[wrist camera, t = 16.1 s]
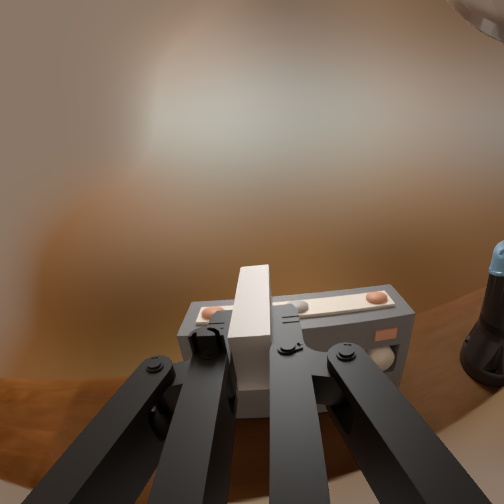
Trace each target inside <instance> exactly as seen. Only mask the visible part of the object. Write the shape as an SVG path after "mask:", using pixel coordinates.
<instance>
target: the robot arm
mask: <svg viewBox="0 0 504 504" xmlns="http://www.w3.org/2000/svg"><path fill="white" fill-rule="evenodd" d="M446 1H447V2H448V3H449V5H450V6H451V7H452V8H453V9H454V10H455V11H456V12H457V13H458V14H460V16H462V17H463V18H464V19H465V20H467V21H468V22H469V23H470V24H471V25H473V26H474V27H475V28H477V29H478V30H480V31H481V32H483V33H485V34H486V35H488V36H489V37H491V38H493V39H495V40H497V41H499V42H501V43H503V44H504V0H446ZM187 337H188V340H189V344H190V347H191V351H192V357H191V359H189V360H186V361H183V362H178V363H174V364H173V363H172V361H171V360H170V359H169V357H166V356H153V357H150V358H148V359H146V360H145V361H143V362H142V363H141V364H140V365H139V366H138V368H137V369H136V370H135V371H134V372H133V373H132V374H131V376H130V377H129V378H128V379H127V380H126V381H125V382H124V384H123V385H122V386H121V387H120V388H119V389H118V391H117V392H116V393H115V394H114V395H113V396H112V397H111V399H110V400H109V401H108V402H107V403H106V404H105V406H104V407H103V408H102V409H101V410H100V411H99V413H98V414H97V415H96V416H95V417H94V418H93V419H92V421H91V422H90V423H89V424H88V425H87V426H86V428H85V429H84V430H83V431H82V432H81V433H80V435H79V436H78V437H77V438H76V439H75V440H74V442H73V443H72V444H71V445H70V446H69V448H68V449H67V450H66V451H65V452H64V453H63V455H62V456H61V457H60V458H59V459H58V460H57V462H56V463H55V464H54V465H53V466H52V468H51V469H50V470H49V471H48V472H47V473H46V475H45V476H44V477H43V478H42V479H41V481H40V482H39V483H38V484H37V485H36V487H35V488H34V489H33V490H32V491H31V493H30V494H29V495H28V496H27V497H26V499H25V500H24V501H23V502H22V503H21V504H134V503H135V501H136V500H137V498H138V497H139V495H140V493H141V492H142V490H143V489H144V487H145V486H146V484H147V482H148V481H149V479H150V478H151V476H152V474H153V473H154V471H155V469H156V468H157V471H156V474H155V478H154V481H153V485H152V488H151V492H150V495H149V499H148V502H147V504H227V500H228V490H229V481H230V471H231V461H232V452H233V442H234V432H235V423H236V413H237V403H238V399H237V394H236V386H238V391H245V390H264V389H270V485H269V504H330V498H329V489H328V481H327V473H326V466H325V459H324V452H323V445H322V438H321V431H320V425H319V418H318V412H317V406H316V404H322V405H325V406H326V409H327V411H328V413H329V414H330V416H331V418H332V420H333V422H334V423H335V425H336V427H337V429H338V430H339V432H340V434H341V436H342V438H343V439H344V441H345V443H346V445H347V447H348V448H349V450H350V452H351V454H352V455H353V457H354V459H355V461H356V462H357V464H358V466H359V468H360V470H361V471H362V473H363V475H364V477H365V478H366V480H367V482H368V484H369V485H370V487H371V489H372V491H373V492H374V494H375V496H376V498H377V499H378V501H379V503H380V504H492V503H491V502H490V501H489V499H488V498H487V497H486V495H484V493H483V492H482V490H481V489H480V488H479V487H478V485H477V484H476V483H475V482H474V480H473V479H472V478H471V477H470V475H469V474H468V473H467V472H466V470H465V469H464V468H463V467H462V466H461V464H460V463H459V462H458V461H457V459H456V458H455V457H454V456H453V455H452V453H451V452H450V451H449V450H448V448H447V447H446V446H445V445H444V443H443V442H442V441H441V440H440V439H439V437H438V436H437V435H436V434H435V433H434V431H433V430H432V429H431V428H430V427H429V425H428V424H427V423H426V422H425V421H424V419H423V418H422V417H421V416H420V415H419V413H418V412H417V411H416V410H415V409H414V408H413V406H412V405H411V404H410V403H409V402H408V400H407V399H406V398H405V397H404V396H403V395H402V393H401V392H400V391H399V390H398V389H397V388H396V386H395V385H394V384H393V383H392V382H391V381H390V379H389V378H388V377H387V376H386V375H385V374H384V372H383V371H382V370H381V369H380V368H379V367H378V365H377V364H376V363H375V362H374V361H373V360H372V358H371V357H370V356H369V355H368V354H367V353H366V352H365V350H364V349H363V348H362V347H360V346H359V345H357V344H354V343H347V342H344V343H338V344H336V345H334V346H332V347H331V348H330V349H329V350H328V352H320V351H315V350H312V349H310V348H309V347H307V346H306V345H305V343H304V340H303V335H302V329H301V324H300V319H299V313H298V309H297V308H296V307H295V306H294V305H293V304H284V305H274V306H273V304H272V295H271V285H270V275H269V266H268V265H258V266H248V267H241V270H240V275H239V281H238V285H237V291H236V296H235V301H234V306H233V310H221V311H216V312H215V313H214V314H213V315H212V316H211V317H210V320H209V325H208V326H203V327H199V328H197V329H195V330H193V331H192V332H190V334H189V335H188V336H187ZM460 361H461V364H462V366H463V368H464V369H465V371H466V372H467V373H468V374H469V375H470V376H471V377H472V378H474V379H475V380H477V381H479V382H481V383H483V384H486V385H490V386H504V240H503V241H501V242H500V243H498V244H497V246H496V247H495V249H494V252H493V256H492V261H491V265H490V267H489V278H488V283H487V288H486V292H485V297H484V301H483V305H482V309H481V313H480V316H479V319H478V321H477V322H476V324H475V325H474V327H473V329H472V330H471V332H470V333H469V335H468V336H467V337H466V339H465V341H464V343H463V346H462V349H461V352H460ZM157 466H158V467H157Z"/></svg>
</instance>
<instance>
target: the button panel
mask: <svg viewBox="0 0 504 504" xmlns="http://www.w3.org/2000/svg"><path fill="white" fill-rule="evenodd" d="M234 301H235V300H219V301H203V302H192V303H191V305H190V307H189V310H188V312H187V314H186V316H185V318H184V321H183V323H182V325H181V328H180V330H179V332H178V334H177V339H178V342H179V346H180V349H181V353H182V356H183V360H184V361H186V360H189V359H191V357H192V351H191V347H190V344H189V340H188V337H187V336H188V335H189V334H190V332H192V331H193V330H195V329H197V328H199V327H203V326H208V325H209V320H210V317H211V316H212V315H213V314H214V313H215V312H216V311H221V310H233V306H234ZM272 304H273V306H274V305H284V304H293V305H294V306H295V307H296V308H297V309H298V313H299V319H300V324H301V329H302V335H303V340H304V343H305V345H306V346H307V347H309V348H310V349H312V350H315V351H320V352H328V350H329V349H330V348H331V347H332V346H334V345H336V344H338V343H344V342H347V343H354V344H357V345H359V346H360V347H362V348H363V349H364V350H365V352H366V350H368V349H374V348H380V347H385V346H390V348H391V350H392V352H393V353H394V357H395V358H394V362H393V363H392V365H391V366H390V367H389V368H388V369H386V370H384V371H383V372H384V374H385V375H386V376H387V377H388V378H389V379H390V381H391V382H392V383H393V384H394V385H395V386H396V388H397V389H398V388H399V384H400V380H401V377H402V373H403V369H404V365H405V361H406V357H407V352H408V348H409V343H410V338H411V333H412V328H413V323H414V317H415V313H414V311H413V310H412V309H411V308H410V306H409V305H408V304H407V303H406V302H405V301H404V299H403V298H402V297H401V296H400V295H399V294H398V292H397V291H396V290H395V289H394V288H393V287H392V286H391V284H388V285H380V286H372V287H364V288H355V289H347V290H337V291H328V292H319V293H308V294H297V295H286V296H275V297H272ZM236 394H237V399H238V403H237V413H236V419H238V418H266V417H270V389H264V390H245V391H238V386H236ZM316 406H317V412H318V413H321V412H328V411H327V409H326V406H325V405H322V404H316Z"/></svg>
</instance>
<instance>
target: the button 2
mask: <svg viewBox="0 0 504 504" xmlns="http://www.w3.org/2000/svg"><path fill="white" fill-rule="evenodd" d="M366 353H367V354H368V355H369V356H370V357H371V358H372V360H373V361H374V362H375V363H376V364H377V365H378V367H379V368H380V369H381V370H382V371H384V370H386V369H388V368H389V367H390V366H391V365H392V363H393V362H394V358H395V357H394V353H393V352H392V350H391V348H390V346H385V347H380V348H374V349H368V350H366Z"/></svg>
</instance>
